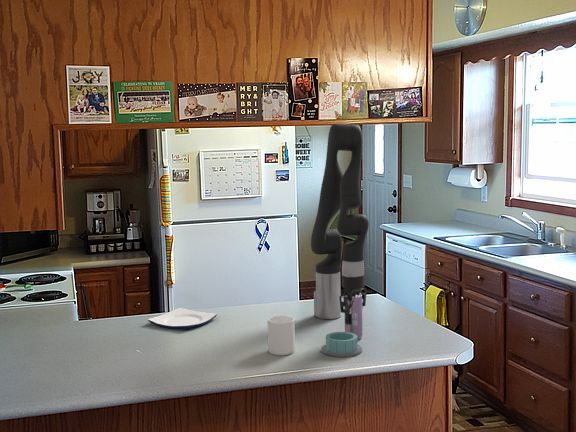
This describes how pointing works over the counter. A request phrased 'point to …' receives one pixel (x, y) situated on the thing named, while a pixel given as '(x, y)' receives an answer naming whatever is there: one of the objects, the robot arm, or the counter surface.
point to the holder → (341, 345)
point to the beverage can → (356, 317)
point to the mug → (281, 335)
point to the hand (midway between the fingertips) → (353, 321)
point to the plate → (182, 319)
